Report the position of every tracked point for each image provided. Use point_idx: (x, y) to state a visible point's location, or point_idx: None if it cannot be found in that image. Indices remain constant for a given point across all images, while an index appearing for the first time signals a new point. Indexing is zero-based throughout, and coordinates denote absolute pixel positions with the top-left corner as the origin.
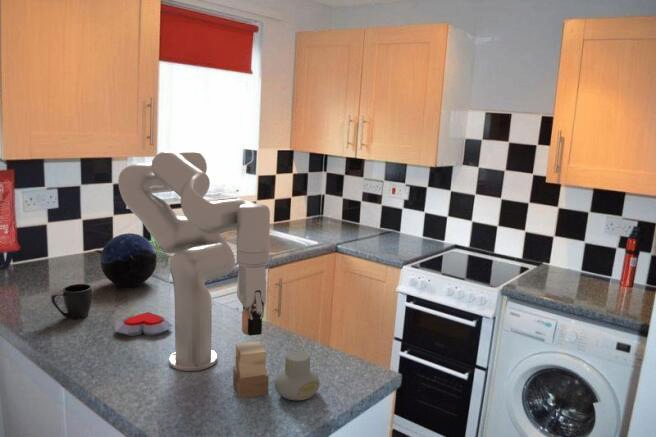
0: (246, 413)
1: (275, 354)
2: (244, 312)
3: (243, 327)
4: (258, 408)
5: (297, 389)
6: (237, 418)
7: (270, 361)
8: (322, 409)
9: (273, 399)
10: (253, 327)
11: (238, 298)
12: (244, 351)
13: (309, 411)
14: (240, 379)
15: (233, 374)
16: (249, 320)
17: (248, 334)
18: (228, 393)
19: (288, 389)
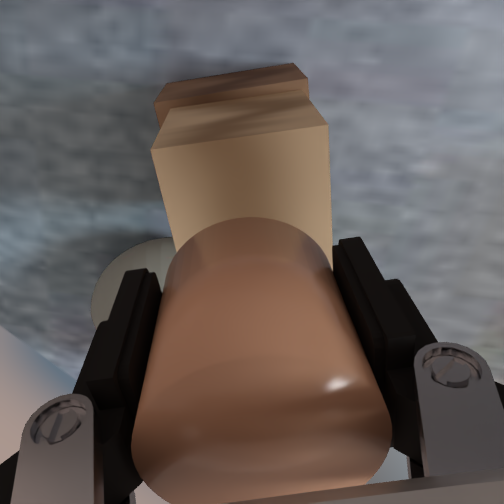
0: (47, 103)
1: (496, 258)
2: (232, 381)
3: (206, 256)
4: (87, 154)
5: (92, 318)
6: (5, 62)
7: (446, 235)
8: (86, 340)
9: (152, 214)
10: (90, 358)
11: (490, 489)
12: (199, 175)
13: (73, 308)
14: (156, 106)
15: (297, 71)
16: (93, 380)
17: (127, 272)
18: (216, 34)
19: (98, 289)
